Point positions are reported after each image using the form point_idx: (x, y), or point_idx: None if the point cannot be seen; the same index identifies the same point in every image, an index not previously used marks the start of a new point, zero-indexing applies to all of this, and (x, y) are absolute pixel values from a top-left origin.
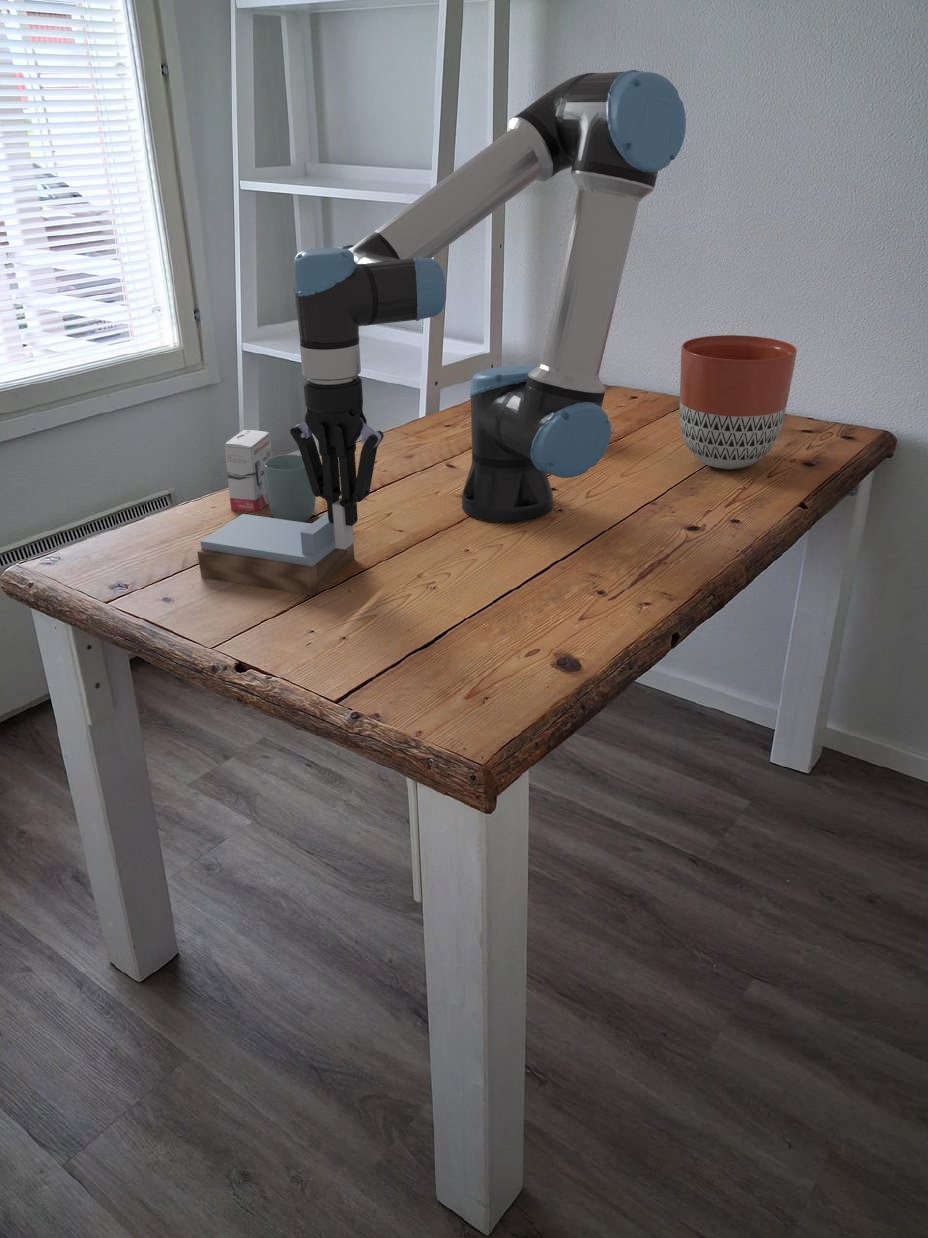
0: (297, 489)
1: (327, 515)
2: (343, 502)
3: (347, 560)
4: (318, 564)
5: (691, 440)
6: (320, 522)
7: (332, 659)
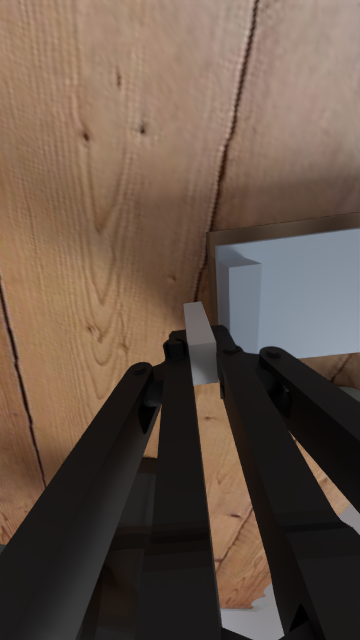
0: None
1: None
2: (176, 345)
3: None
4: (214, 265)
5: None
6: (245, 324)
7: (46, 42)
